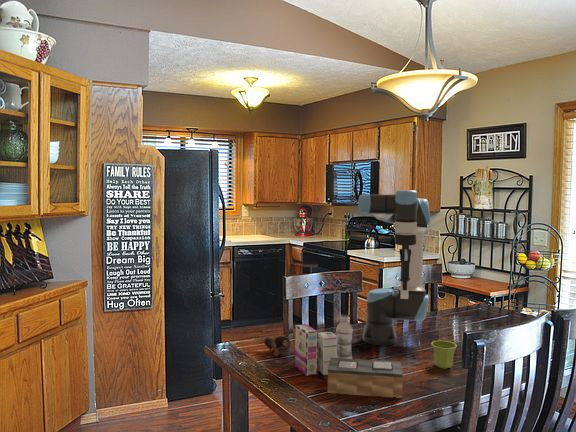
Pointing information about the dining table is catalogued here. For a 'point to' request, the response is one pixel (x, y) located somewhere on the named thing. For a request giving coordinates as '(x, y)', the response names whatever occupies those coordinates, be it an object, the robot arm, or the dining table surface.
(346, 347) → the plastic bottle
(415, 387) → the dining table surface
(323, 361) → the syrup box
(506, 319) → the dining table surface
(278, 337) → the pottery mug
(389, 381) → the socket block
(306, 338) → the candy bar box
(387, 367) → the peg
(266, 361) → the dining table surface
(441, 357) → the plant pot
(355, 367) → the seated peg
